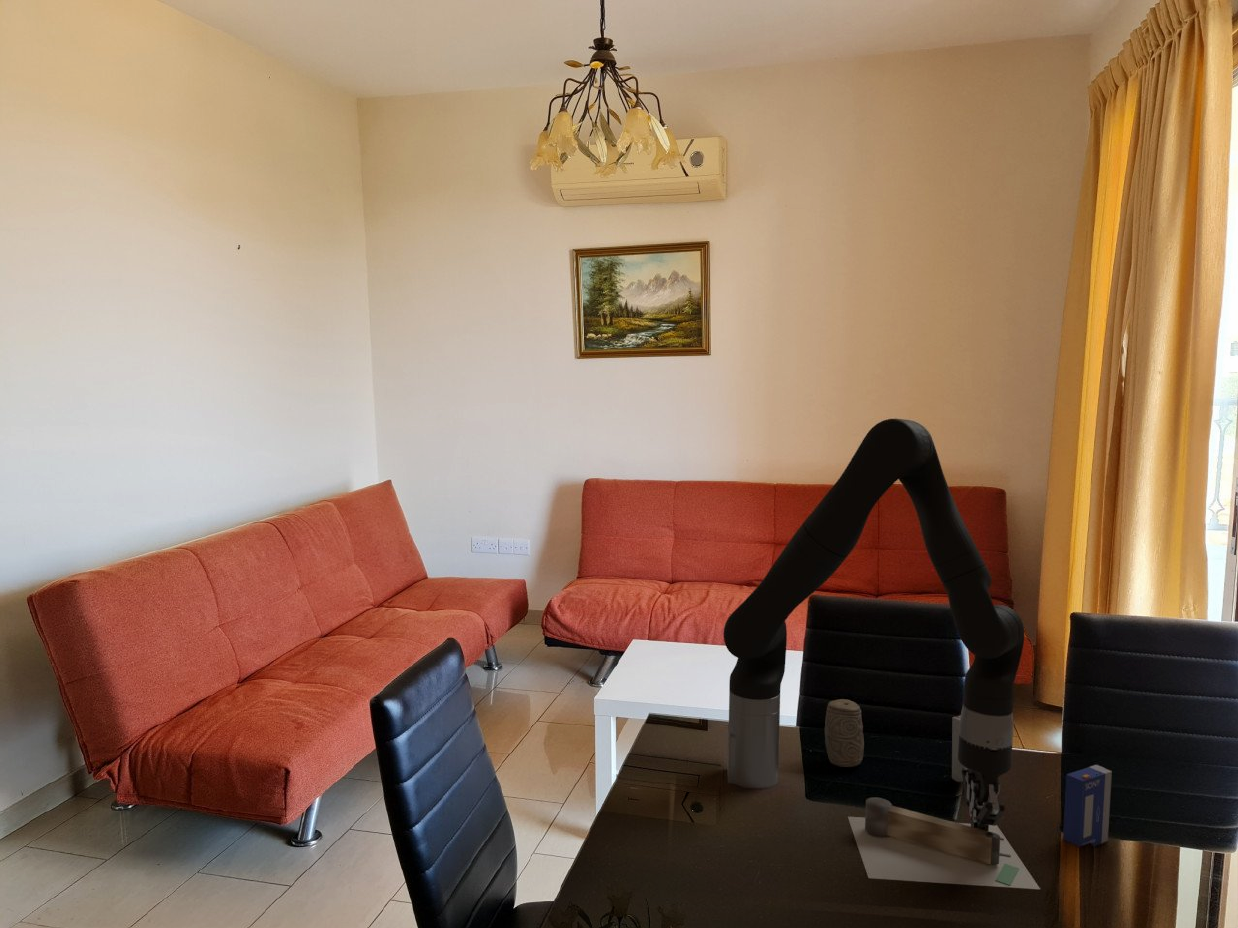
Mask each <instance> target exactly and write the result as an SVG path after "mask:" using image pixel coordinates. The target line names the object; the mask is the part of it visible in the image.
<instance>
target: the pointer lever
mask: <svg viewBox="0 0 1238 928" xmlns="http://www.w3.org/2000/svg"><path fill="white" fill-rule="evenodd" d="M864 813H865V815H864V818H865V830H866V831H867V832H868V833H869V834H871V835H874V836H879V837H885V836H888V835H890V836H893V837H897V838H900V839H904V840H907V841H911V842H914V843H918V844H921V845H925V846H928V847H932V848H935V849H939V850H942V851H946V852H949V853H953V854H956V855H960V856H963V857H967V858H970V859H974V860H977V861H981V862H984V863H988V864H991V865H998V864H999V853H1000V836H999V835H998V834H996V833H993V832H989V831H985V830H982V829H978V828H974V827H970V826H967V825H963V824H959V823H960V822H955V821H951V820H947V819H944V818H940V817H936V816H932V815H929V814H925V813H921V812H919V811H913V810H909V809H907V808H903V807H899V806H895V805H893V803H891V802H890V801H889V800H887V799H885V798H882V797H869V798H867V799H866V800H865V811H864Z"/></svg>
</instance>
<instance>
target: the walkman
mask: <svg viewBox="0 0 1238 928" xmlns="http://www.w3.org/2000/svg"><path fill="white" fill-rule="evenodd" d="M1112 772H1113V771H1112V770H1110V769H1107V768H1105V767H1103V766H1100V765H1099V764H1094V765H1091V766H1088V767H1085V768H1083V769H1079V770H1076V771H1072V772H1070V773H1067V774H1065V775H1066V776H1065V791H1064V792H1065V793H1064V794H1065V795H1064V799H1065V800H1064V810H1063V812H1064V813H1063V816H1064V817H1063V832H1062V833H1063V834H1062V835H1063V836H1062V839H1063V840H1064V841H1066V842H1068V843H1071V844H1072V845H1074V846H1076V847H1079V848H1080V847H1082V846H1085V845H1087V844H1091V845H1092V847H1096V846H1099V845H1101V844H1104V843H1107V842H1109V841H1108V840H1109V824H1110V810H1111V809H1110V807H1111V791H1112V776H1113V775H1112Z"/></svg>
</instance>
